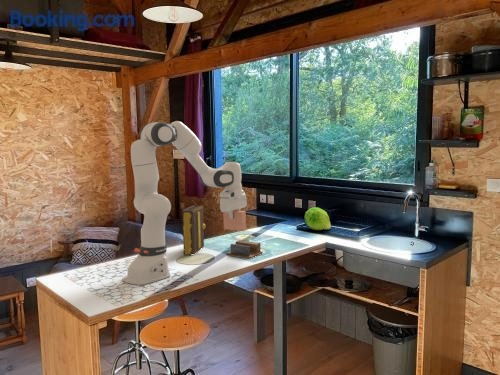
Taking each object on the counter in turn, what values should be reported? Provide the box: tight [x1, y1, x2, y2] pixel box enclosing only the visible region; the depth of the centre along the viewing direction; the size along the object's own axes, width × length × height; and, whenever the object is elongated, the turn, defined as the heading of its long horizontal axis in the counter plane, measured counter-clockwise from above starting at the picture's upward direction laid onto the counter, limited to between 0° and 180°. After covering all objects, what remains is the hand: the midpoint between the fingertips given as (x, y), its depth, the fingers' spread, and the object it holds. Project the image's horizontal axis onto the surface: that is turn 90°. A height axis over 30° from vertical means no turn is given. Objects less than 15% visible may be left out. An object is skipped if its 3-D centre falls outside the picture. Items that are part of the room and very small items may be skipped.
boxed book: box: [222, 210, 247, 232], centre depth 219 cm, size 4×12×10 cm, turn 58°
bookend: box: [230, 243, 250, 256], centre depth 225 cm, size 1×12×5 cm, turn 58°
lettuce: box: [304, 207, 332, 231], centre depth 290 cm, size 17×20×16 cm
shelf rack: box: [226, 239, 264, 259], centre depth 229 cm, size 12×16×6 cm
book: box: [182, 205, 206, 256], centre depth 238 cm, size 22×8×25 cm, turn 168°
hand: (234, 218), depth 218 cm, fingers closed on boxed book, 3 cm apart
